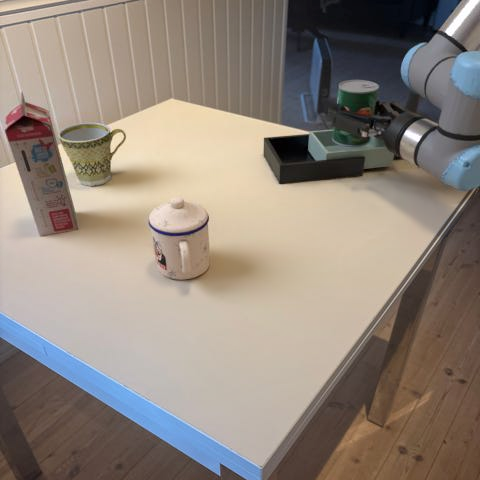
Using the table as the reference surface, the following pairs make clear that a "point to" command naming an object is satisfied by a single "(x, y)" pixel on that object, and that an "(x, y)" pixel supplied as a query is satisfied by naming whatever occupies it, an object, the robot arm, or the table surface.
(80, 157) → the ceramic cup
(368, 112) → the canned tomato
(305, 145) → the frame
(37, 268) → the table surface
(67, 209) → the juice carton
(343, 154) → the green tray with handle
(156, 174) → the table surface
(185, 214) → the teacup with lid
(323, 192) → the table surface
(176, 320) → the table surface
